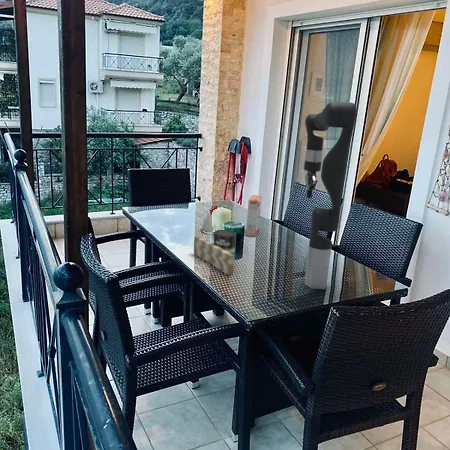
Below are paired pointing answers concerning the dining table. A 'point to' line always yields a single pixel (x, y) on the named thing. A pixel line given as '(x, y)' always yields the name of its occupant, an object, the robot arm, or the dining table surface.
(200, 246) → the birch board
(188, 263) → the dining table surface
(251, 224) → the cracker box
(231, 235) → the coffee can
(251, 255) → the dining table surface
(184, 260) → the dining table surface
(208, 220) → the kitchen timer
